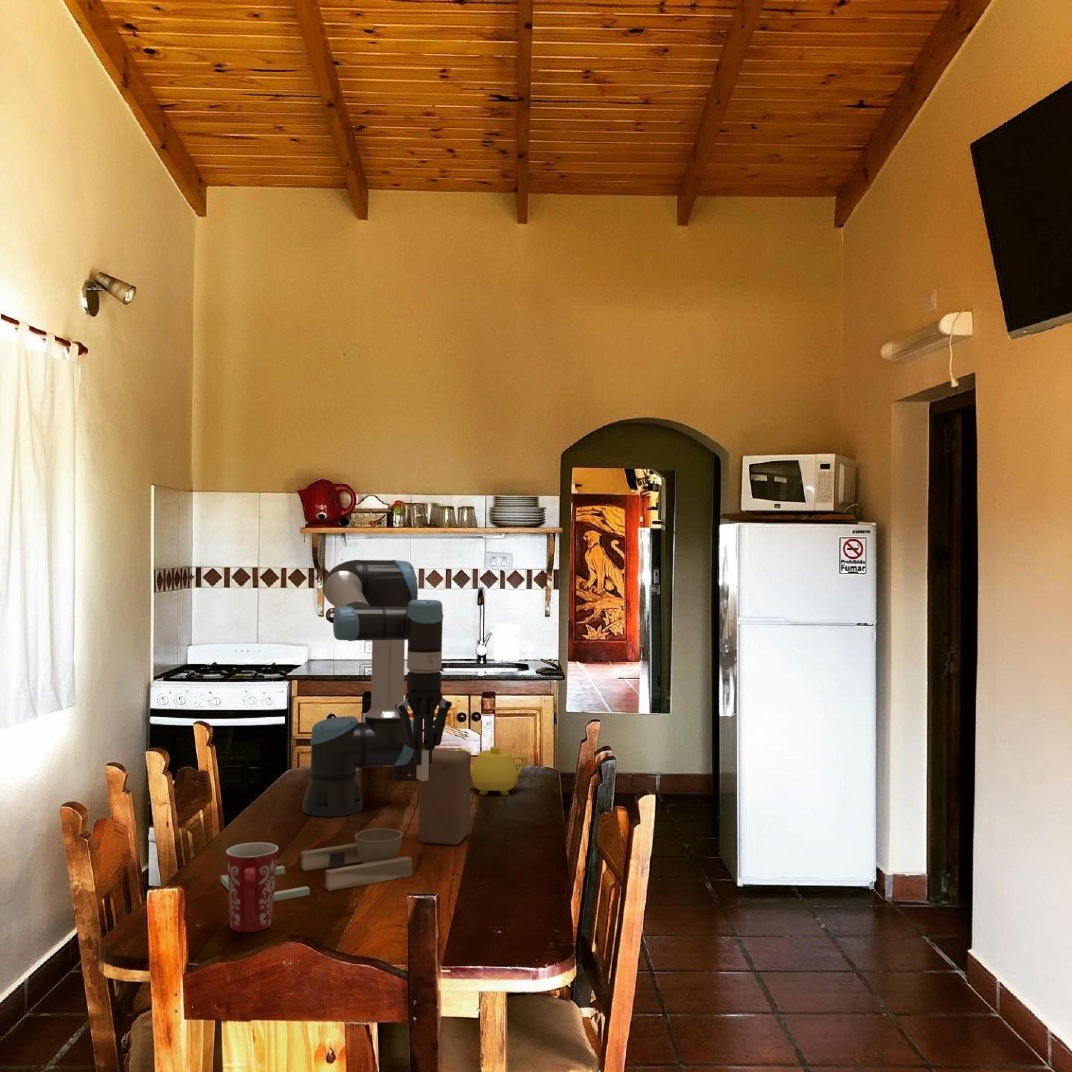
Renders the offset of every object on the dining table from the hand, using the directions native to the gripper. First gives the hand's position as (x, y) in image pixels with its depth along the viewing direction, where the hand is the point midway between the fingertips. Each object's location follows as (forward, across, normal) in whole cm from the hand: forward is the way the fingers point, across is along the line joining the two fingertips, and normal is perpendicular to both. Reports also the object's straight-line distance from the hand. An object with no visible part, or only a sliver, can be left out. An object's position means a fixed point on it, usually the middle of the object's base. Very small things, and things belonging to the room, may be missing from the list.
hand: (422, 779), depth 213 cm
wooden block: (+18, +12, +12) cm, 25 cm away
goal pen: (+18, -34, 0) cm, 38 cm away
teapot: (+18, +45, +46) cm, 67 cm away
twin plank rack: (+18, -15, 0) cm, 23 cm away
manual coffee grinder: (+18, +35, +72) cm, 82 cm away
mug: (+18, -43, -19) cm, 50 cm away
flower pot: (+18, -10, 0) cm, 20 cm away
